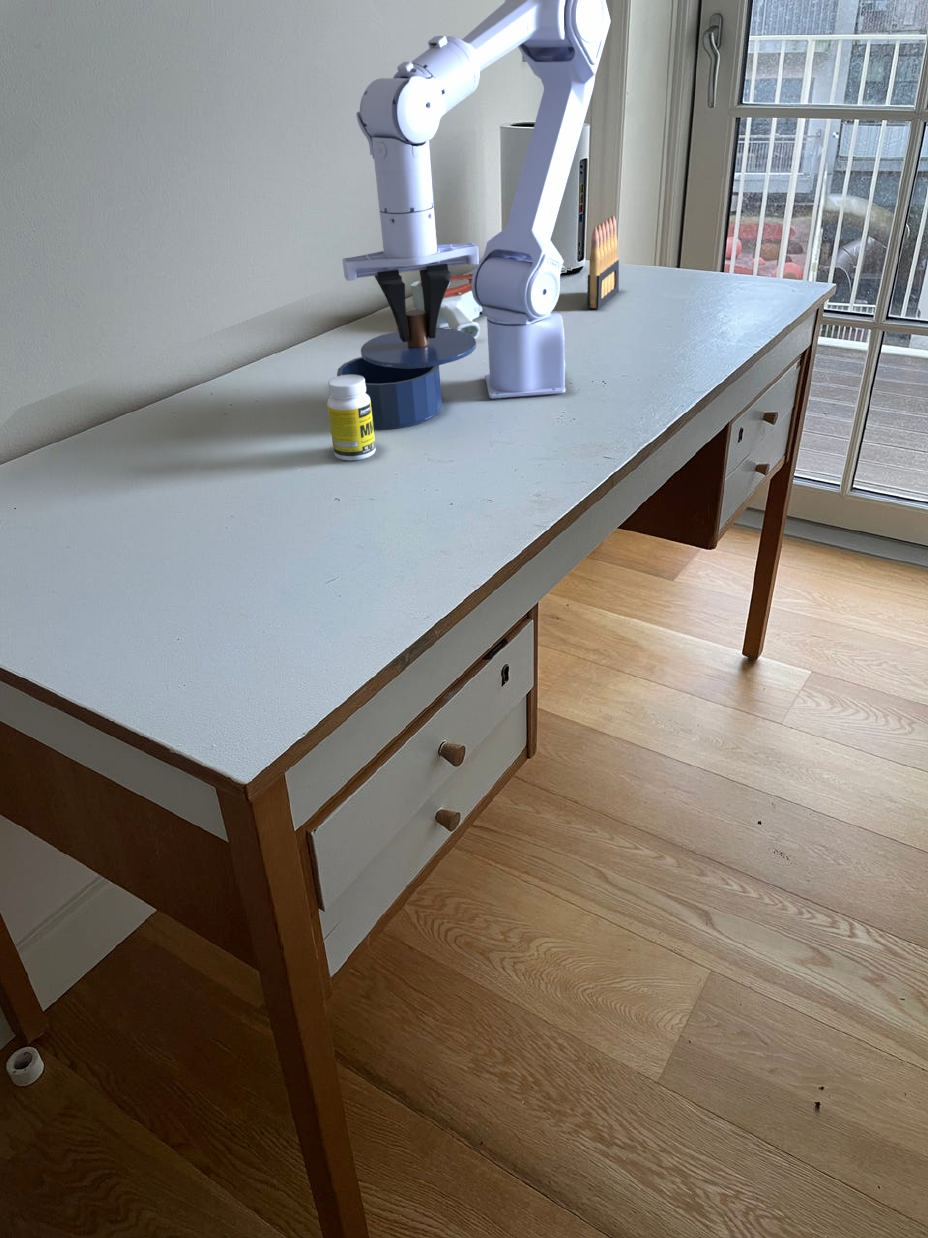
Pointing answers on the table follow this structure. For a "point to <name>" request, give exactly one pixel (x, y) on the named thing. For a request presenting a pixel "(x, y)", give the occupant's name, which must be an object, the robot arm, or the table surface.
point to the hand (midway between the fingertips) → (417, 337)
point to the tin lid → (418, 346)
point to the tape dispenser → (454, 306)
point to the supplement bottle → (350, 418)
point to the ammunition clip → (603, 265)
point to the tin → (398, 393)
